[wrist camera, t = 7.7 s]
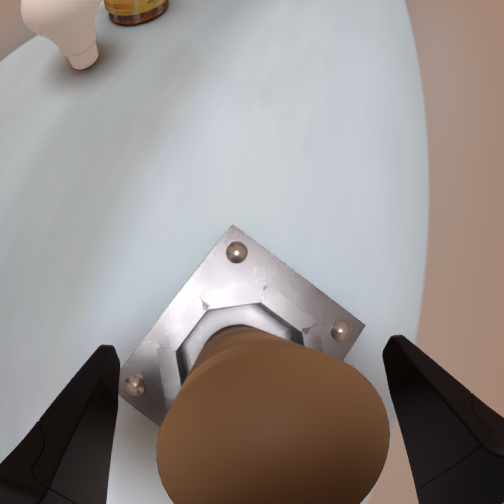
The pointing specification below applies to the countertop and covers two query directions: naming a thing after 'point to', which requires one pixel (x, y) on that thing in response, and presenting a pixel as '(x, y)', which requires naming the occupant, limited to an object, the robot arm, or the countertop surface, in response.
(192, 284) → the bracket
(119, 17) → the sauce bottle
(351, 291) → the countertop surface
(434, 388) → the robot arm
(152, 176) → the countertop surface
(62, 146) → the countertop surface
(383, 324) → the countertop surface
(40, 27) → the lightbulb
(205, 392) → the brown round cylinder
